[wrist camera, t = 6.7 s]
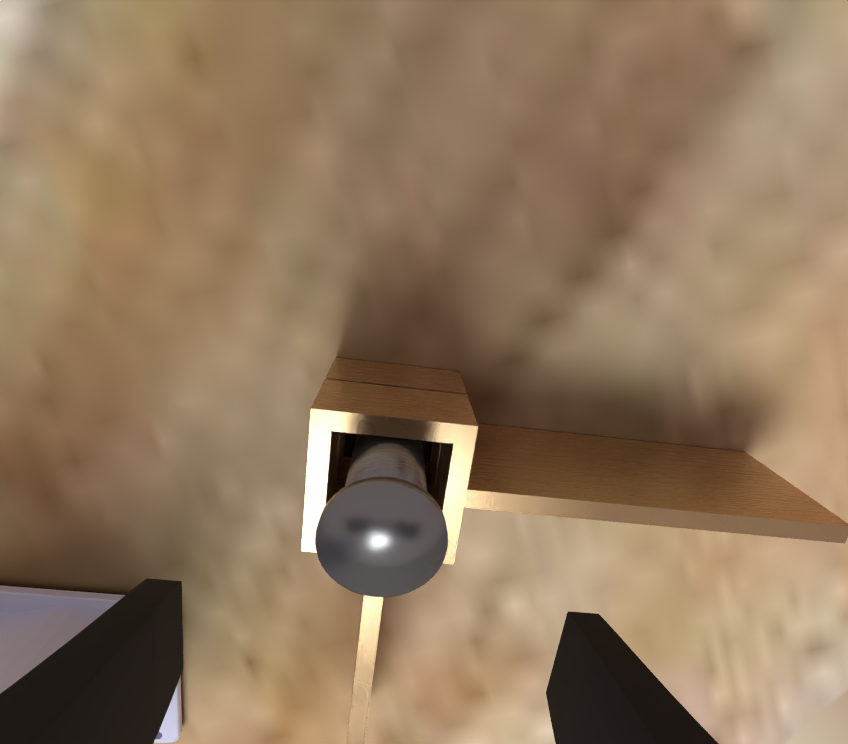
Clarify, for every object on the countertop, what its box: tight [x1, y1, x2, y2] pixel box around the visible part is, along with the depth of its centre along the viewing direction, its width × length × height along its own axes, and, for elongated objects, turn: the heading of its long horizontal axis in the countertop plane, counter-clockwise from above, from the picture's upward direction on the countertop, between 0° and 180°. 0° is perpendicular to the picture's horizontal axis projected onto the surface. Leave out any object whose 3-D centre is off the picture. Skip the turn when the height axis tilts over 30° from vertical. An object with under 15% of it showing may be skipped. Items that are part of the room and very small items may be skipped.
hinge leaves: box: [301, 357, 848, 744], centre depth 19 cm, size 17×17×5 cm
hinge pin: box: [315, 434, 448, 597], centre depth 15 cm, size 3×3×8 cm
